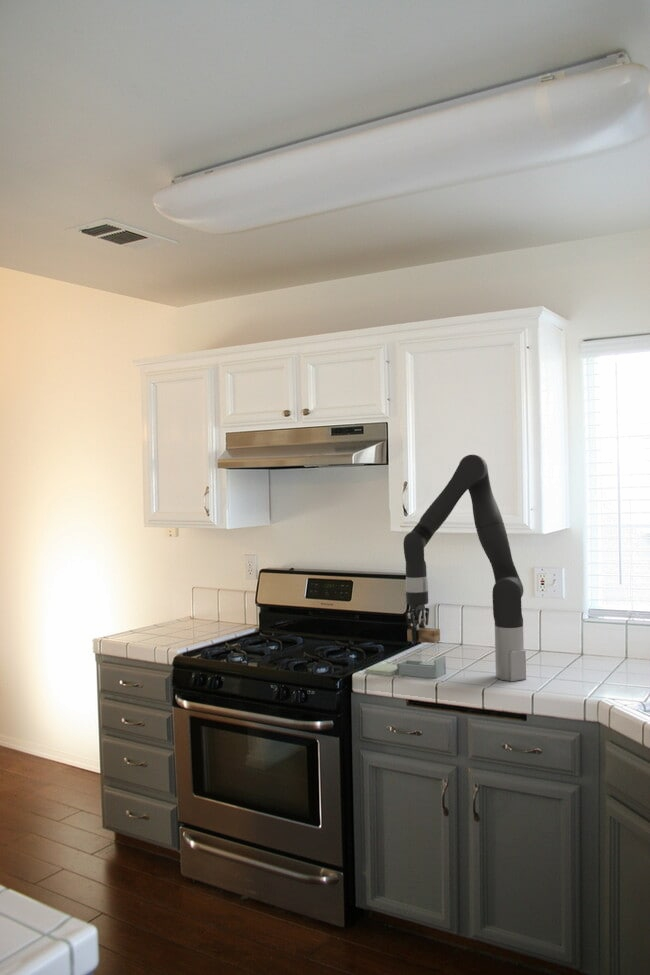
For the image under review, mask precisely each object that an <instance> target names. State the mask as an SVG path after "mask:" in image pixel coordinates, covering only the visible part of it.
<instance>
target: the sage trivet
mask: <svg viewBox="0 0 650 975" xmlns="http://www.w3.org/2000/svg"><path fill="white" fill-rule="evenodd" d="M364 670H365V671H364V673H366V674H373V675H374V674H375V675H384V676H394V675H395V674H396V675H397V664H388V663H375V664H373V665H372V666H369V667H367V668H365V669H364Z"/></svg>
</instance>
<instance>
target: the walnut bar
mask: <svg viewBox="0 0 650 975" xmlns="http://www.w3.org/2000/svg"><path fill="white" fill-rule="evenodd" d="M406 632H407V633H406V634H407V635H406V636H407V637H406V638H407V639H406V640H407V642H413V641H412V630H410V629H408V628H407V630H406ZM418 633H419V641H418V642H417V643H430V644H436V643H439V642H441V630H440V628H433V627H432V628H431V627H426V628H418ZM413 643H414V642H413Z"/></svg>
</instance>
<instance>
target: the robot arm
mask: <svg viewBox="0 0 650 975" xmlns="http://www.w3.org/2000/svg"><path fill="white" fill-rule="evenodd" d="M467 491H468V493H469V495H470V499H471V504H472V505H471V506H472V516H473V521H474V524H475V529H476V534H477V537H478V540H479V543H480V545H481V548H482V550H483V552H484V553H485V555H486V557H487V558H488V560H489V564H490V565H491V568H492V572H493V577H494V585H493V587H492V596H491V597H492V615H493V620H494V646H495V647H494V649H495V650H494V654H495V655H494V656H495V657H494V658H495V678H496V679H498V680H502V681H509V682H516V681H523V680H526V679H527V661H526V660H527V657H526V655H527V654H526V649H525V646H524V639H525V638H524V616H523V613H522V611H523V610H522V597H523V595H524V585H523V583H522V581H521V578H520V575H519V573H518V571H517V568H516V566H515V563H514V561H513V556H512V550H511V546H510V542H509V538H508V534H507V530H506V527H505V523H504V520H503V517H502V515H501V511H500V509H499V506H498V504H497V501H496V498H495V496H494V494H493V491H492V486H491V481H490V476H489V469H488V464H487V461H485V459H484V458H483V457H482V456H480V455H478V454H477V455H476V454H468V455H465V456H464V457H463V458H461V459H460V461H459V464H458V466H457V467H456V470H455V471H454V473H453V475H452V477H451V478H450V480H449V481H448V483H447V484H446V486H445V487H444V488H443V490H442V491H441V492H440V493H439V494H438V496H436V498H435V499H434V500H433V502H432V503H431V504H430V506H429V507H427V509H426V510H425V512H424V513H423V514H422V515H421V517H420V518H419V521H418V523H416V525H415V526H414V527H413V529H411V531H410V532H409V533H407V534H406V535H404V539H403V543H402V545H403V554H404V560H405V602H406V605H408V606H410V607H409V612H406V613H405V618H406V625H407V629H410V630H412V641H413V643H419V642H418V641H419V633H418V628H427V626H429V615H430V607H426V606H425V605H428V604H429V583H428V578H427V575H428V574H427V564H426V561H425V547H426V546H427V544H428V543H429V542H430V541H431V539H432V537H433V536H434V535H435V533H436V532H437V531H438V530H439V529H440V528H441V526H442V525H444V524H443V523H445V521H446V520H447V518H449V516H450V515H451V514H452V512H453V510H454V509H455V506H456V505H457V504H458V502H459V501H460V499H461V498H462V496H464V494H465V493H466V492H467ZM412 641H411V642H412Z"/></svg>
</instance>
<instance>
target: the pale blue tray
mask: <svg viewBox="0 0 650 975" xmlns="http://www.w3.org/2000/svg"><path fill="white" fill-rule="evenodd" d="M396 665H397V673H396V675H401V676H408V677H410V676H411V677H417V678H419V677H420V678H428V679H438V678H440V677H442V676H443V675H446V674H447V669H446V668H447V666H446V655H442V656H440V657H438V658H436V659H434V660H423V661H422V660H413V659H405V660H403V661H400V662H398V663H397V664H396Z"/></svg>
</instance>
